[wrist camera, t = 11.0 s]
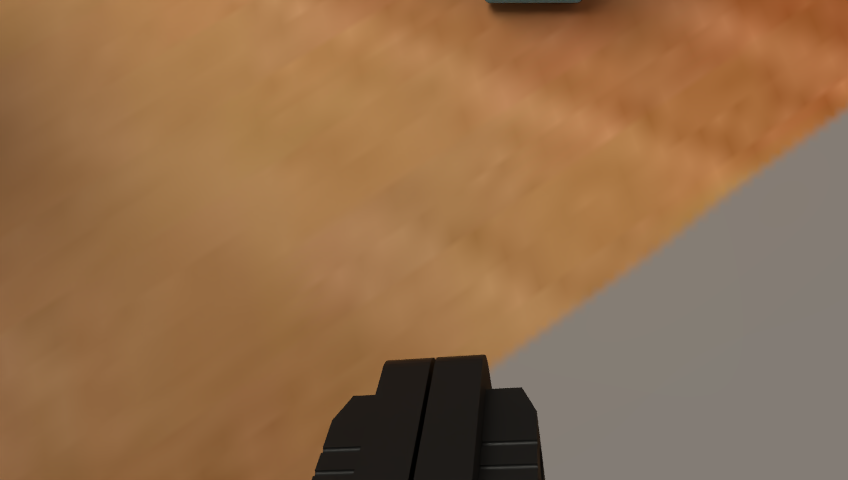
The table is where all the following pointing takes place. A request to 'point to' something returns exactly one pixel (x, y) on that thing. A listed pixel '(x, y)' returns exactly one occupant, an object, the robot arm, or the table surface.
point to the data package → (532, 1)
